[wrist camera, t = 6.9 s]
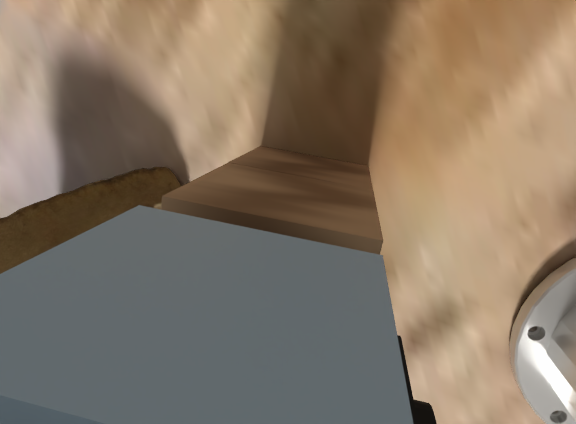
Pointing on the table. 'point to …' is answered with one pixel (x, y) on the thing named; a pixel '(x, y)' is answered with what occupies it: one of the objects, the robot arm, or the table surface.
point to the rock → (78, 212)
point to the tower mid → (282, 205)
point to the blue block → (198, 329)
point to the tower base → (307, 166)
